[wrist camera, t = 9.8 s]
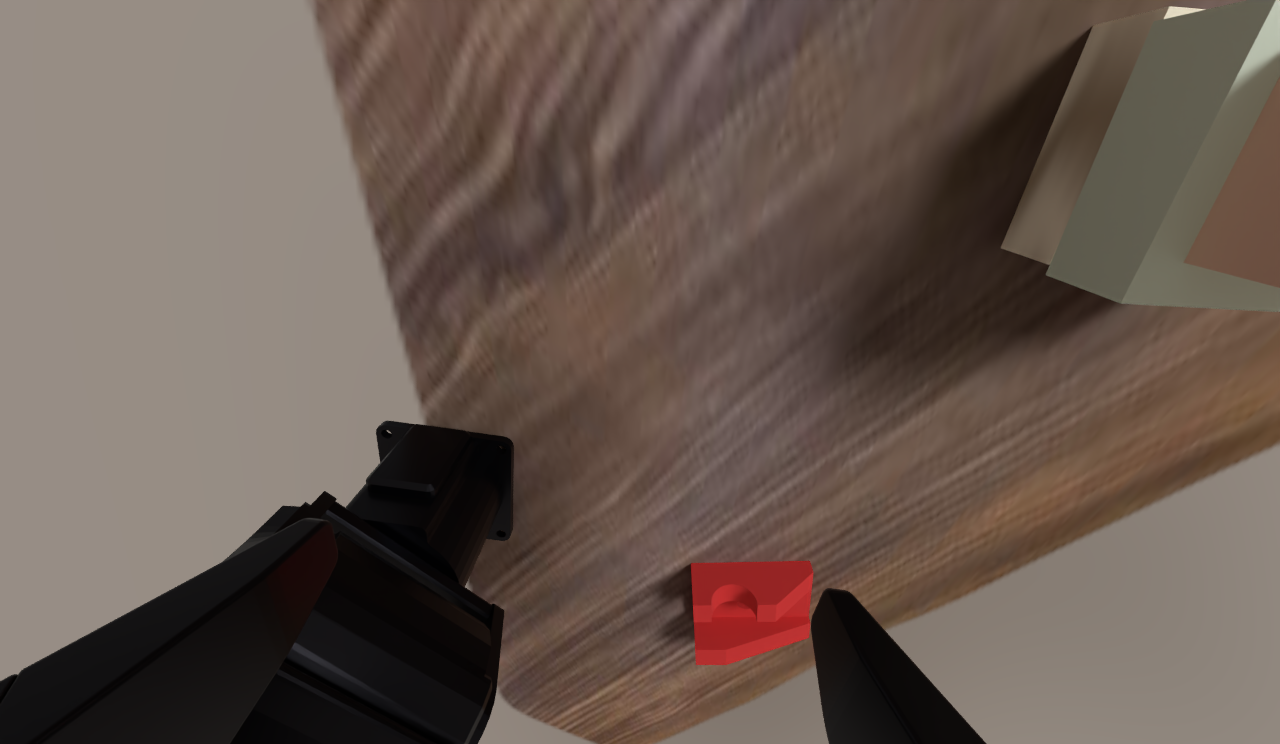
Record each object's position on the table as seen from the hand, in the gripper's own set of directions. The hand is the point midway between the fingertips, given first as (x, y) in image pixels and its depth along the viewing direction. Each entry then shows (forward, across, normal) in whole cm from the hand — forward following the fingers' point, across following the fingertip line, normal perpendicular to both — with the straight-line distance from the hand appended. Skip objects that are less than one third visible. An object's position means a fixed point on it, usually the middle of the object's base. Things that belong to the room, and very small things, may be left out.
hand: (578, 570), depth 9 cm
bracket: (+14, -9, +15) cm, 22 cm away
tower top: (+10, -17, -8) cm, 22 cm away
